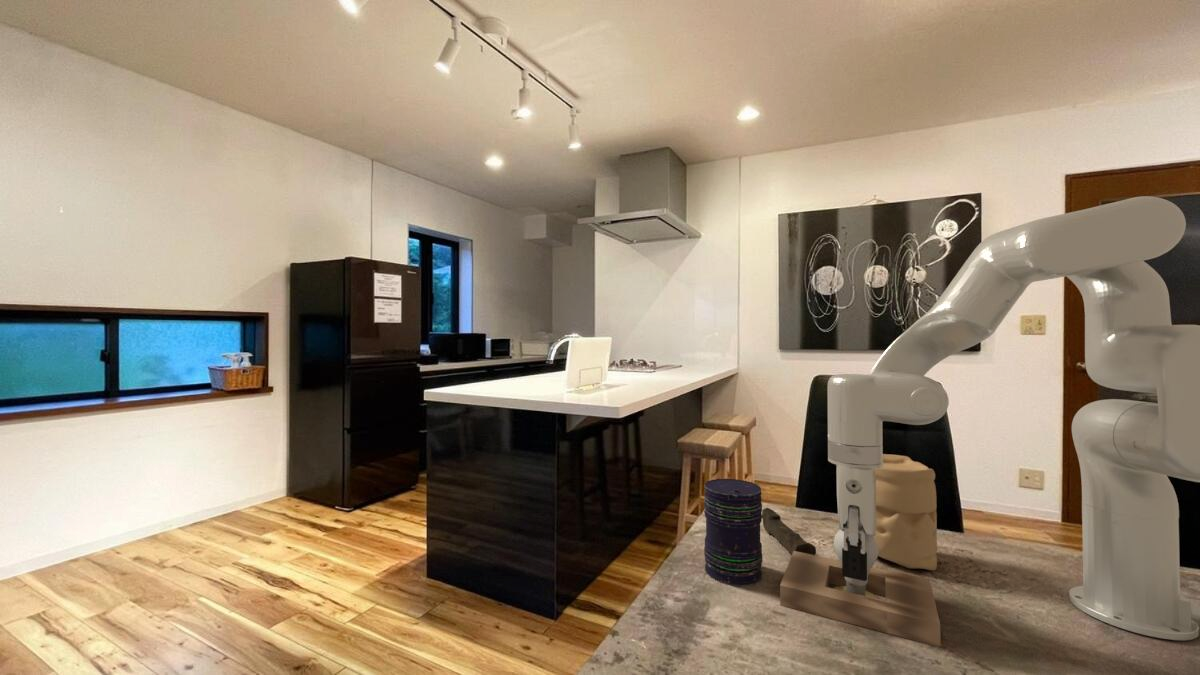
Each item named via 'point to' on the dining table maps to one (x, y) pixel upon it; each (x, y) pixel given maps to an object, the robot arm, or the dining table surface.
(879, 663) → the dining table surface
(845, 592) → the holder
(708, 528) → the navy ridged cylinder
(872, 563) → the lightbulb
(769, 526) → the hand tool
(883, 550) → the container
